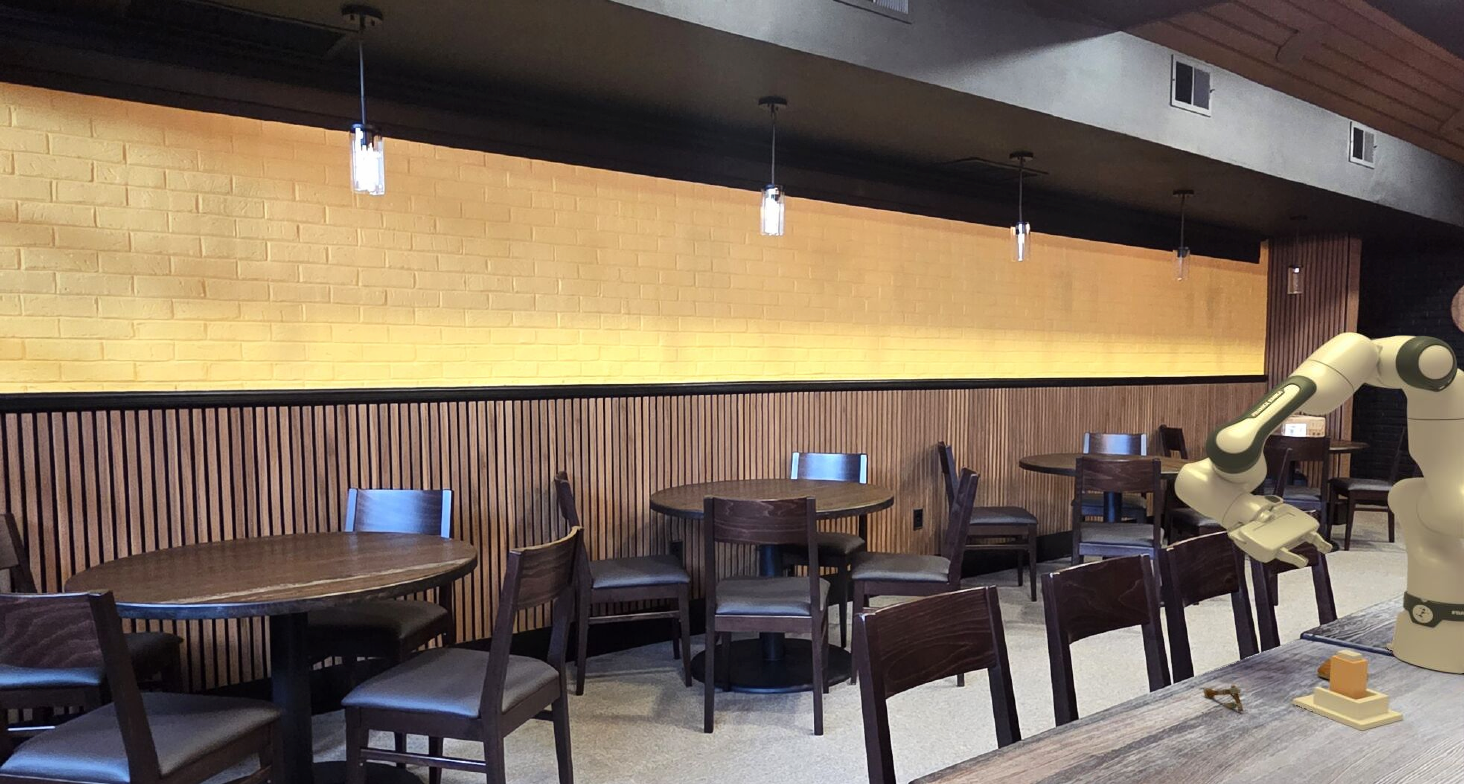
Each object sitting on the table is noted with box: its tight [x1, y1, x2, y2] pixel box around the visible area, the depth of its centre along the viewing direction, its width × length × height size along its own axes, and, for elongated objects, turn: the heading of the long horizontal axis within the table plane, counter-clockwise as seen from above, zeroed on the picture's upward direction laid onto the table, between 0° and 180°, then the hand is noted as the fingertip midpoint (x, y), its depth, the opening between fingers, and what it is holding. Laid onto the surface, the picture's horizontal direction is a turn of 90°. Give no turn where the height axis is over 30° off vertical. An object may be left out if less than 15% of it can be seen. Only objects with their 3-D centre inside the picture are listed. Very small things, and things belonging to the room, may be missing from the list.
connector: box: [1328, 649, 1369, 700], centre depth 158 cm, size 4×4×10 cm
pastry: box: [1317, 658, 1370, 681], centre depth 175 cm, size 9×7×4 cm
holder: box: [1292, 686, 1404, 732], centre depth 158 cm, size 12×12×4 cm
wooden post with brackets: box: [1202, 684, 1244, 712], centre depth 160 cm, size 2×8×4 cm, turn 15°
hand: (1317, 557), depth 168 cm, fingers open, 8 cm apart
